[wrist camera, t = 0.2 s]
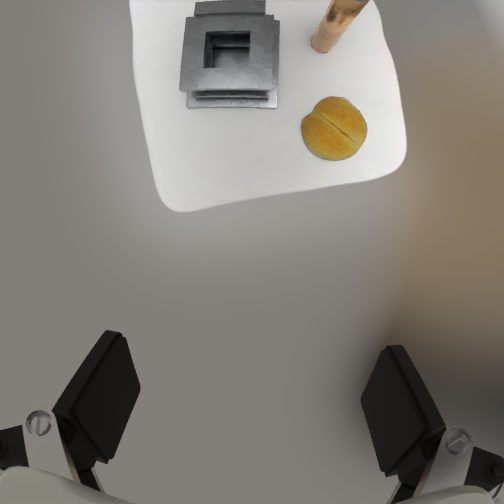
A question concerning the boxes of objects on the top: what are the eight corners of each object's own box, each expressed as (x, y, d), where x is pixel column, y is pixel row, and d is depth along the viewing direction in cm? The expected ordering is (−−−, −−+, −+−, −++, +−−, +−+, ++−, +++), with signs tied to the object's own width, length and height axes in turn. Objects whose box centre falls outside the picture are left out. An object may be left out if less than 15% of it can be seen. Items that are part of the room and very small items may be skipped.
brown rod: (310, 34, 28) (348, -44, 10) (331, 37, 28) (383, -34, 10) (310, 51, 29) (352, -22, 11) (332, 54, 29) (388, -11, 11)
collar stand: (195, 24, 28) (180, -2, 20) (279, 23, 28) (283, -5, 20) (188, 108, 33) (168, 98, 25) (276, 109, 33) (280, 97, 25)
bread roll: (290, 134, 34) (293, 132, 31) (329, 90, 32) (337, 83, 28) (335, 173, 36) (343, 176, 32) (372, 129, 33) (384, 128, 30)
